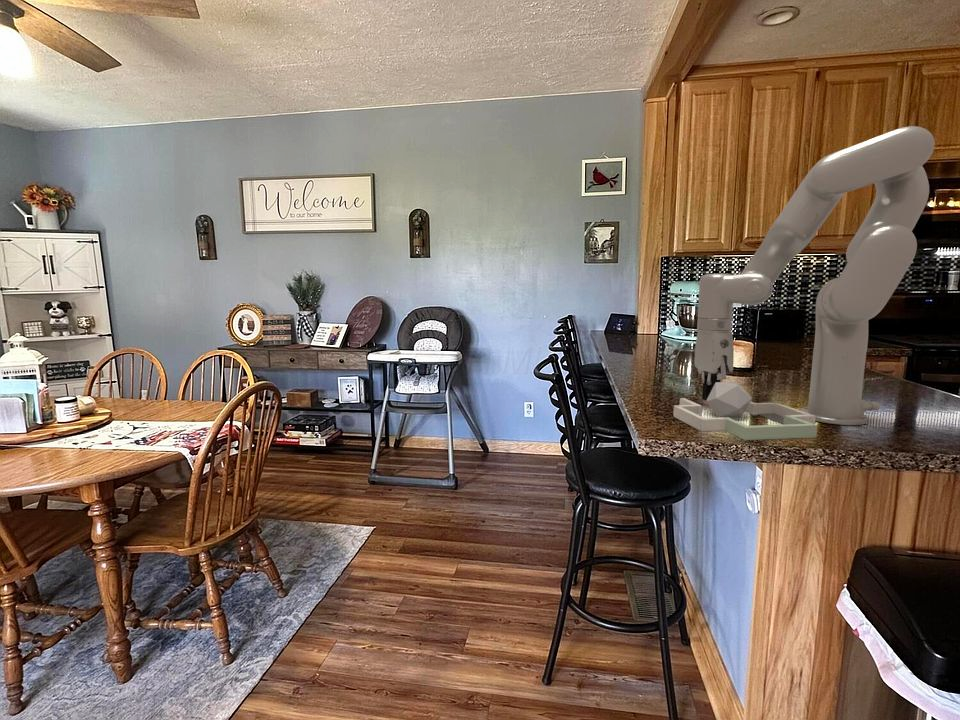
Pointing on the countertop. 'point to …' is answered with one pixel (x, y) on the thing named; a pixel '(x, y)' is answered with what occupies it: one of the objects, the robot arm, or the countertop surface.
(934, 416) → the countertop surface
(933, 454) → the countertop surface
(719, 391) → the die
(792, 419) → the dice tray
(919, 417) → the countertop surface
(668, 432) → the countertop surface
